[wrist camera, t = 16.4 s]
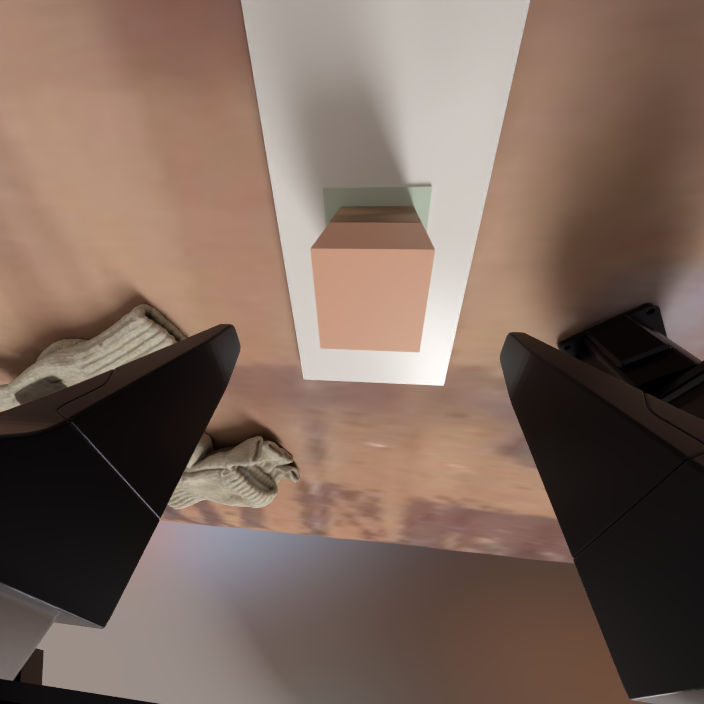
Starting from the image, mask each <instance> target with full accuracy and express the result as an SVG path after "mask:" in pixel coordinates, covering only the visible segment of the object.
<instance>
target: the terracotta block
mask: <svg viewBox="0 0 704 704" xmlns="http://www.w3.org/2000/svg"><path fill="white" fill-rule="evenodd" d="M310 250H311V260H312V270H313V280H314V290H315V300H316V310H317V319H318V329H319V339H320V348H323V349H347V350H372V351H396V352H420V346H421V339H422V333H423V326H424V319H425V313H426V306H427V300H428V293H429V287H430V280H431V273H432V267H433V260H434V254H435V248H434V246H433V244H432V242H431V240H430V238H429V236H428V234H427V232H426V230H425V228H424V226H423V224H422V222H330V223H329V224H328V225H327V227H326V228H325V229H324V231H323V232H322V233H321V235H320V236H319V237H318V239H317V240H316V241H315V243H314V244H313V245H312V247H311V248H310Z"/></svg>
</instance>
